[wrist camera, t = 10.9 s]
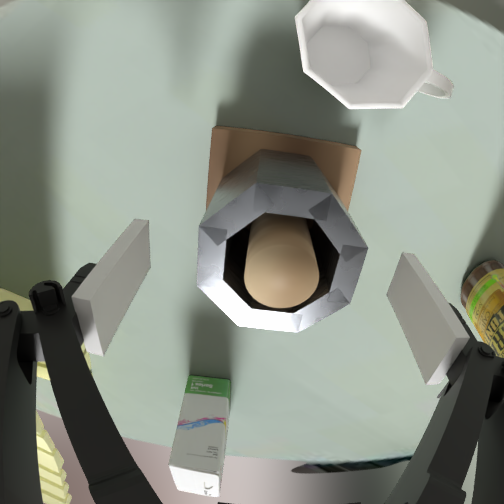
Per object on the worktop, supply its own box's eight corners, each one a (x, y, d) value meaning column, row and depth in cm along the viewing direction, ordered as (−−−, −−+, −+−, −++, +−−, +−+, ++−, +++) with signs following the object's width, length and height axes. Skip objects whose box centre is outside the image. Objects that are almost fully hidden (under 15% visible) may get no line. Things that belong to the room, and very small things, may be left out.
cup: (298, -2, 17) (312, -43, 10) (428, 50, 17) (491, 43, 10) (272, 87, 20) (274, 86, 13) (403, 132, 21) (459, 157, 14)
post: (206, 250, 26) (175, 341, 17) (215, 125, 21) (174, 156, 12) (328, 266, 26) (352, 360, 17) (355, 146, 22) (415, 192, 12)
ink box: (187, 373, 34) (165, 465, 24) (232, 378, 34) (220, 474, 24) (191, 413, 38) (176, 492, 28) (229, 417, 38) (220, 498, 28)
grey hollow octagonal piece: (216, 250, 24) (195, 320, 17) (225, 144, 21) (201, 176, 14) (321, 263, 25) (338, 335, 18) (344, 161, 21) (381, 202, 14)
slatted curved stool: (-27, 220, 26) (-131, 311, 10) (80, 255, 27) (-32, 401, 12) (19, 382, 40) (-24, 462, 25) (100, 417, 41) (66, 512, 26)
